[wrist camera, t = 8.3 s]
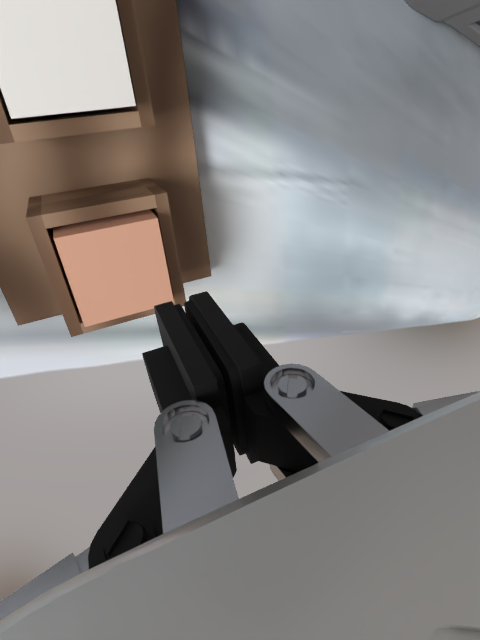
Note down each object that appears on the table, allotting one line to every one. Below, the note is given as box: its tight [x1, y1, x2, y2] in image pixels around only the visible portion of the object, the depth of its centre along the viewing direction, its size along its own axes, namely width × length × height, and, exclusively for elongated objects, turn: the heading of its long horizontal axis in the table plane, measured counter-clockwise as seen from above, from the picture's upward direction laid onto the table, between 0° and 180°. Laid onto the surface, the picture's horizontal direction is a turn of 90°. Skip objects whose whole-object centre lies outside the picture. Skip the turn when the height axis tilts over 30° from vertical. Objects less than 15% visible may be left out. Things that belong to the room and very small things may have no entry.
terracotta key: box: [53, 209, 174, 327], centre depth 26 cm, size 6×6×5 cm
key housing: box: [0, 0, 211, 337], centre depth 24 cm, size 16×22×7 cm
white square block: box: [0, 0, 136, 119], centre depth 20 cm, size 6×6×5 cm
